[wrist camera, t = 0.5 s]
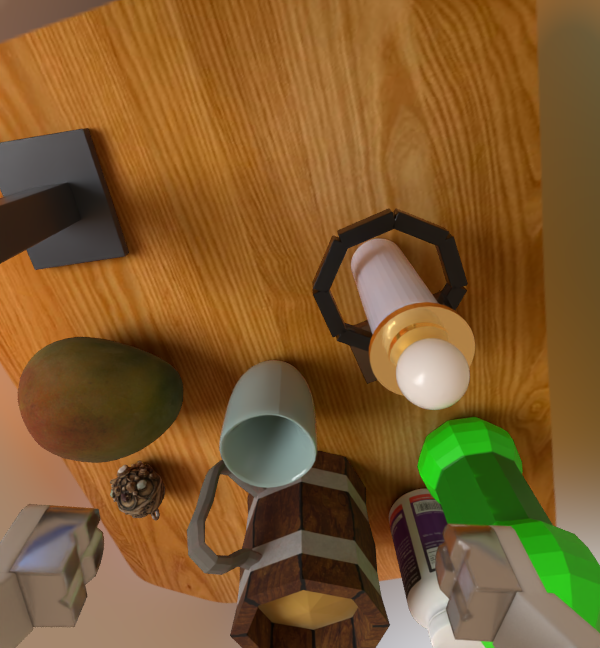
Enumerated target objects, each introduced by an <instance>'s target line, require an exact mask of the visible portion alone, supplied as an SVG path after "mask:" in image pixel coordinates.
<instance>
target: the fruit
mask: <svg viewBox="0 0 600 648" xmlns="http://www.w3.org/2000/svg"><path fill="white" fill-rule="evenodd" d="M182 402H183V383H182V380H181V377H180V375H179V373H178V372H177V371H176V370H175V369H174V368H173V367H172V366H171V365H170V364H169V363H168V362H166V361H164V360H162V359H161V358H159V357H157V356H155V355H153V354H150V353H148V352H146V351H143V350H141V349H138V348H135V347H132V346H129V345H125V344H122V343H118V342H114V341H110V340H105V339H99V338H91V337H74V338H67V339H63V340H60V341H56V342H54V343H52V344H50V345H47V346H46V347H44V348H43V349H41V350H40V351H38V352H37V353H36V354H35V355H34V356H33V357H32V358H31V360H30V361H29V362H28V364H27V365H26V367H25V369H24V370H23V373H22V375H21V377H20V381H19V388H18V403H19V408H20V412H21V415H22V418H23V421H24V423H25V425H26V427H27V429H28V431H29V432H30V434H31V435H32V437H33V438H34V439H35V441H36V442H37V443H38V444H39V445H40V446H41V447H43V448H44V449H46V450H47V451H49V452H51V453H53V454H55V455H58V456H60V457H62V458H65V459H70V460H76V461H82V462H94V463H99V462H108V461H113V460H117V459H120V458H123V457H126V456H128V455H131V454H133V453H135V452H137V451H139V450H141V449H143V448H145V447H146V446H148V445H149V444H151V443H152V442H154V441H155V440H156V439H157V438H159V437H160V436H161V435H162V434H163V433H164V432H165V431H166V430H167V429H168V428H169V427H170V426H171V425H172V423H173V422H174V421H175V420H176V418H177V416H178V414H179V412H180V409H181V406H182Z"/></svg>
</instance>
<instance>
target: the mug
mask: <svg viewBox="0 0 600 648" xmlns="http://www.w3.org/2000/svg"><path fill="white" fill-rule="evenodd" d="M220 474H223V475H228V476H229V477H230V478H231V479H233V480H234V481H235V482H236V483H237V484H238V485H239V486H240V487H242V488H243V489H244V490H246V491H247V492H248V493H249V495H248V520H247V529H246V535H245V539H244V543H243V547H242V549H240V550H238V551H236V552H234V553H232V554H230V555H229V556H220V555H216V554H215V553H214V552H213V551H212V550H211V549H210V548H209V547H208V546H207V545H206V544H205V521H206V518H207V516H208V513H209V511H210V509H211V506H212V504H213V501H214V497H215V492H216V488H217V483H218V479H219V476H220ZM187 538H188V556H189V557H190V558H191V559H192V560H193V561H194V562H195V563H196V564H197V565H198V567H199V568H200V569H201V570H202V571H203V572H204V573H208V574H220V575H222V574H224V573H226V572H228V571H230V570H232V569H234V568H235V567H238V566H239V567H240V585H239V594H238V602H237V609H236V613H235V617H234V622H233V626H232V630H231V634H230V636H231V637H232V638H233V639H234V640H235V641H236V642H237V643H238V644H239V645H240V646H241V647H242V648H376V646H377V645H378V643H379V641H380V640H381V638H382V637H383V635H384V634H385V632H386V630H387V629H388V627H389V626H390V624H389V621H388V618H387V614H386V611H385V607H384V604H383V601H382V597H381V592H380V586H379V580H378V574H377V562H376V548H375V543H374V539H373V536H372V532H371V528H370V525H369V520H368V515H367V509H366V488H365V486H364V485H363V483H362V482H361V480H360V478H359V477H358V475H357V474H356V472H355V471H354V469H353V468H352V466H351V464H350V463H349V461H348V460H347V458H346V457H343V456H339V455H334V454H330V453H326V452H321V451H317V456H316V460H315V462H314V464H313V466H312V467H311V469H310V470H309V471H308V472H307V473H306V474H305V475H303V476H302V477H301V478H299V479H297V480H296V481H294V482H291V483H289V484H286V485H283V486H278V487H270V488H265V487H257V486H253V485H250V484H248V483H246V482H243V481H242V480H240V479H239V478H237V477H236V476H235V475H234V474H233V473H232V472H231V471H230V470H229V469H228V468H227V466H226V465H225V464H224V462H223V460H221V461H219V462H218V463H217V464H216V465H215V466H213V467H212V468H211V469H210V470H209V471H208V473H207V475H206V477H205V479H204V482H203V485H202V488H201V491H200V495H199V499H198V502H197V506H196V509H195V512H194V514H193V517H192V519H191V522H190V524H189V527H188V529H187Z"/></svg>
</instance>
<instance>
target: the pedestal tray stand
mask: <svg viewBox="0 0 600 648" xmlns="http://www.w3.org/2000/svg"><path fill="white" fill-rule="evenodd" d="M0 190H1V192H2V194H3V197H2V198H0V264H1V263H2V262H4V261H6V260H8V259H10V258H12V257H14V256H15V255H17V254H19V253H21V252H23V251H25V250H27V252H28V255H29V257H30V259H31V262H32V264H33V266H34V268H35V270H38V269H44V268H51V267H58V266H64V265H71V264H78V263H84V262H91V261H97V260H104V259H111V258H117V257H124V256H126V255H127V254H128V253H129V251H128V248H127V245H126V242H125V239H124V236H123V233H122V230H121V227H120V224H119V221H118V217H117V214H116V211H115V208H114V205H113V202H112V199H111V196H110V193H109V190H108V187H107V184H106V181H105V178H104V175H103V172H102V169H101V166H100V163H99V160H98V157H97V153H96V150H95V147H94V144H93V141H92V138H91V135H90V132H89V129H88V128H85V129H78V130H72V131H66V132H60V133H54V134H49V135H43V136H37V137H31V138H25V139H19V140H13V141H7V142H1V143H0Z"/></svg>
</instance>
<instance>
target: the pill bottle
mask: <svg viewBox="0 0 600 648" xmlns="http://www.w3.org/2000/svg"><path fill="white" fill-rule="evenodd" d="M447 524H448V523H447V520H446V517H445V515H444V512H443V509H442V506H441V504H440V503H438V502H437V501H436V500H435V499H434V498H433V497H432V496H431V494H430V492H429V490H428V489H417V490H414V491H411V492H408V493H406V494H404V495H403V496H401V497H400V498H399V499H398V500H397V501H396V502H395V503H394V504H393V506H392V507H391V510H390V513H389V525H390V530H391V534H392V538H393V542H394V546H395V551H396V555H397V559H398V564H399V568H400V572H401V577H402V581H403V585H404V590H405V594H406V599H407V603H408V607H409V610H410V612H411V614H412V616H413V618H414V619H415V620H416V621H417V622H418V623H419V624H420V625H421V626H423V627H425V628H426V629H428V633H429V637H430V640H431V644H432V647H433V648H485V646H484V645H483V644H482V642H481V641H469V640H455V638H454V635H453V632H452V628H451V625H450V622H449V618H448V615H447V612H446V607H447V604H448V601H449V598H448V597H447V596H446V595H445V594H444V593H443V592H442V591H441V590H440V588H439V584H438V581H437V576H436V570H435V556H436V552H437V548H438V546H439V545H441V544H442V543H444V542H445V541H444V538H443V535H442V533H443V530H444V527H445V526H446V525H447Z"/></svg>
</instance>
